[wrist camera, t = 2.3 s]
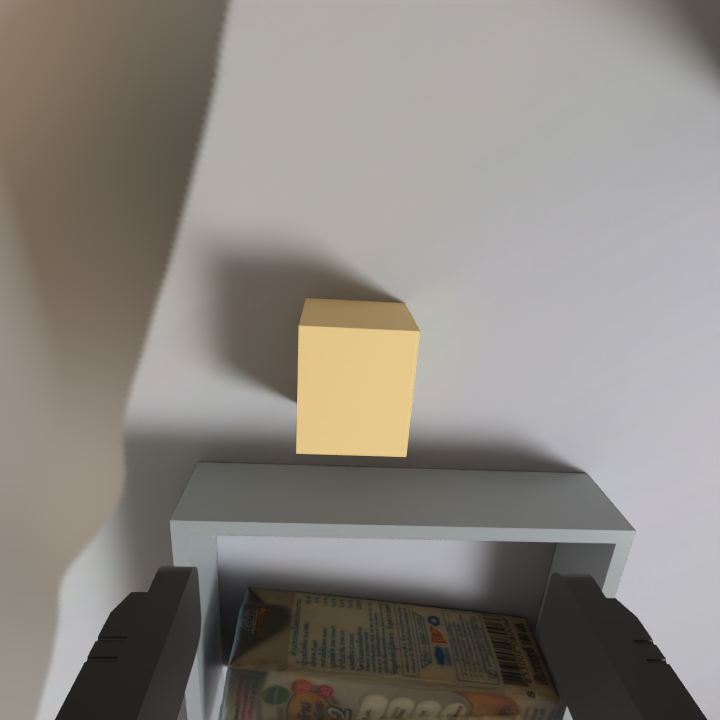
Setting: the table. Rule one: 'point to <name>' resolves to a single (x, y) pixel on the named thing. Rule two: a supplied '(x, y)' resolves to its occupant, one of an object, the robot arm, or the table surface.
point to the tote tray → (386, 527)
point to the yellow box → (355, 377)
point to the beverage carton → (381, 662)
